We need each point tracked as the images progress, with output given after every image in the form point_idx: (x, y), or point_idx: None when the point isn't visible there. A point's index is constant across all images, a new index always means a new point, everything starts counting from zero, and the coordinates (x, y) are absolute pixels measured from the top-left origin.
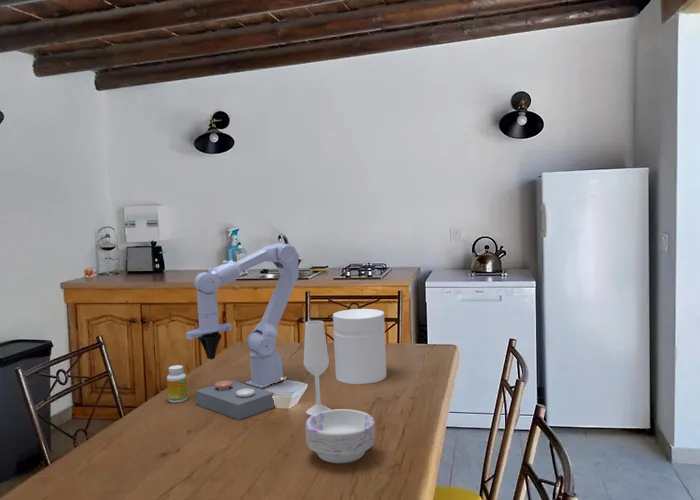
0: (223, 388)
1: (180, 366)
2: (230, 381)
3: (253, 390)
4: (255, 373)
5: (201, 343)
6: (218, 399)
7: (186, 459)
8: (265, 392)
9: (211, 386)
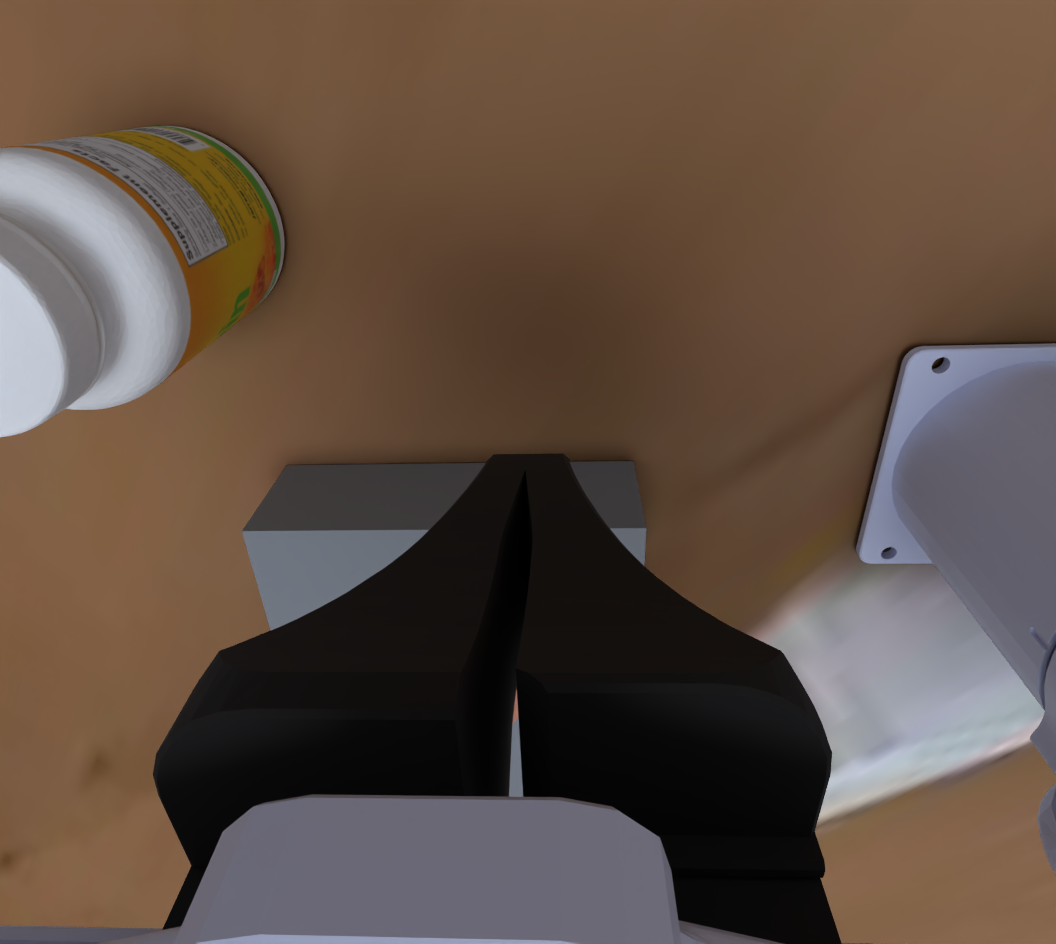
0: None
1: (24, 365)
2: (515, 703)
3: None
4: (941, 550)
5: (345, 598)
6: None
7: (22, 923)
8: None
9: (407, 545)
